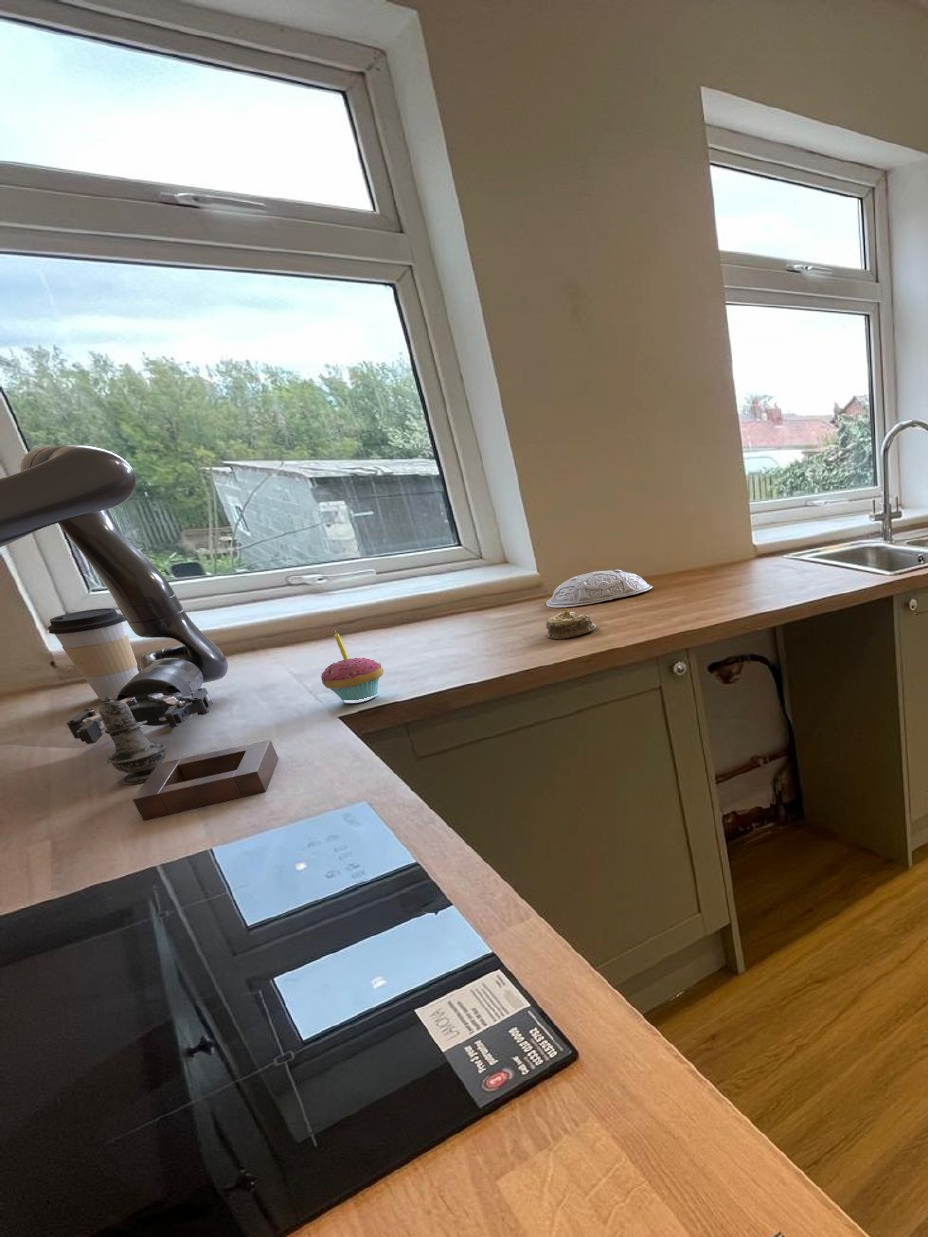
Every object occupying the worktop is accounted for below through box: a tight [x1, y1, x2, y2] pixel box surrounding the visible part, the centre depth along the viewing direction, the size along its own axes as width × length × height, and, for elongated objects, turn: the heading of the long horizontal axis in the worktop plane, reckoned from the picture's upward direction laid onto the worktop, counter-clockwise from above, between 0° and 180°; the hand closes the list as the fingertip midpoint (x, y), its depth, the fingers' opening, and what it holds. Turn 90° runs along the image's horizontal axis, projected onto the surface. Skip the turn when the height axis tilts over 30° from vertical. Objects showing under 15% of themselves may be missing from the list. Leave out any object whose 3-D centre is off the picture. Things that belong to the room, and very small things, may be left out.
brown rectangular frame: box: [132, 739, 279, 821], centre depth 102 cm, size 12×12×3 cm
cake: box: [545, 607, 597, 640], centre depth 161 cm, size 10×10×5 cm
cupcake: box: [320, 629, 385, 701], centre depth 128 cm, size 9×8×12 cm
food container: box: [545, 569, 654, 609], centre depth 189 cm, size 16×25×7 cm, turn 125°
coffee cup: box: [47, 607, 140, 702], centre depth 135 cm, size 9×9×15 cm
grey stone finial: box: [98, 696, 166, 786], centre depth 104 cm, size 6×6×12 cm
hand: (129, 728), depth 105 cm, fingers open, 8 cm apart
